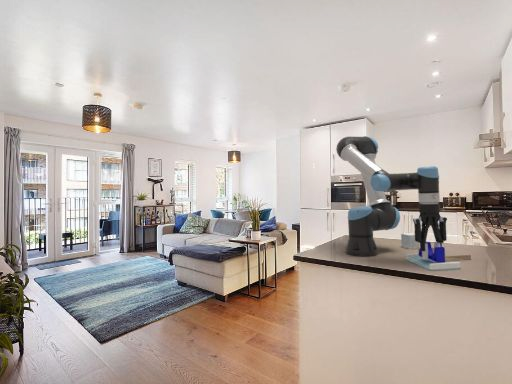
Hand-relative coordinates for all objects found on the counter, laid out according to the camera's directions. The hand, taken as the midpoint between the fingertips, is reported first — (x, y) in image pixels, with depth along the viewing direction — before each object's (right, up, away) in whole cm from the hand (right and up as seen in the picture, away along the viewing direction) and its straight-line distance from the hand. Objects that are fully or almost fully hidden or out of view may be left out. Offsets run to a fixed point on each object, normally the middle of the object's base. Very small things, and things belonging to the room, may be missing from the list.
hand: (431, 258), depth 115 cm
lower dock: (0, -3, 0) cm, 3 cm away
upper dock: (+13, -2, +12) cm, 18 cm away
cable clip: (0, -1, 0) cm, 1 cm away
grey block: (+8, -2, +31) cm, 32 cm away
